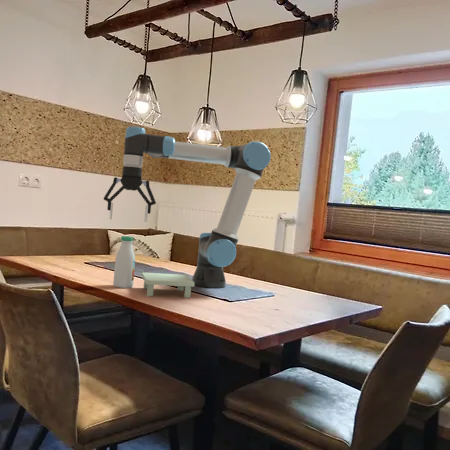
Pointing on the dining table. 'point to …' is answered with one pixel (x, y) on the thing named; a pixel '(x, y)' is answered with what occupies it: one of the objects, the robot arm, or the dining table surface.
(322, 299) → the dining table surface
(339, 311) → the dining table surface
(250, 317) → the dining table surface
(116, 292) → the dining table surface
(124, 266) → the milk bottle
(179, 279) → the footstool
